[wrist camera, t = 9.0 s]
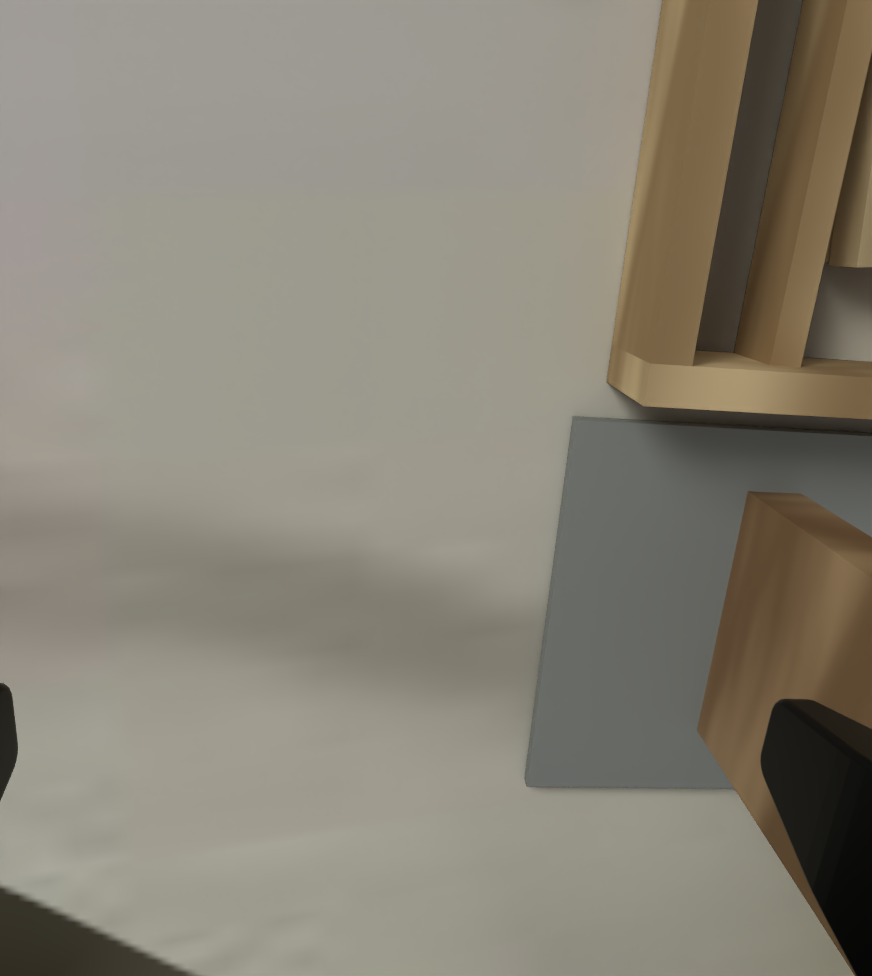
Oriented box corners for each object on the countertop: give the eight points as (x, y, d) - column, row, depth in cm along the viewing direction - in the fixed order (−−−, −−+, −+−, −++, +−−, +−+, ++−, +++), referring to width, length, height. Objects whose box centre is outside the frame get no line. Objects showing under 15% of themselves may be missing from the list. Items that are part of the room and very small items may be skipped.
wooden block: (801, 493, 22) (1127, 696, 12) (745, 731, 24) (980, 1049, 15) (747, 491, 22) (1037, 693, 12) (696, 730, 24) (904, 1052, 15)
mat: (977, 438, 22) (988, 442, 22) (872, 781, 26) (879, 789, 26) (572, 416, 21) (576, 419, 21) (524, 778, 25) (526, 786, 24)
